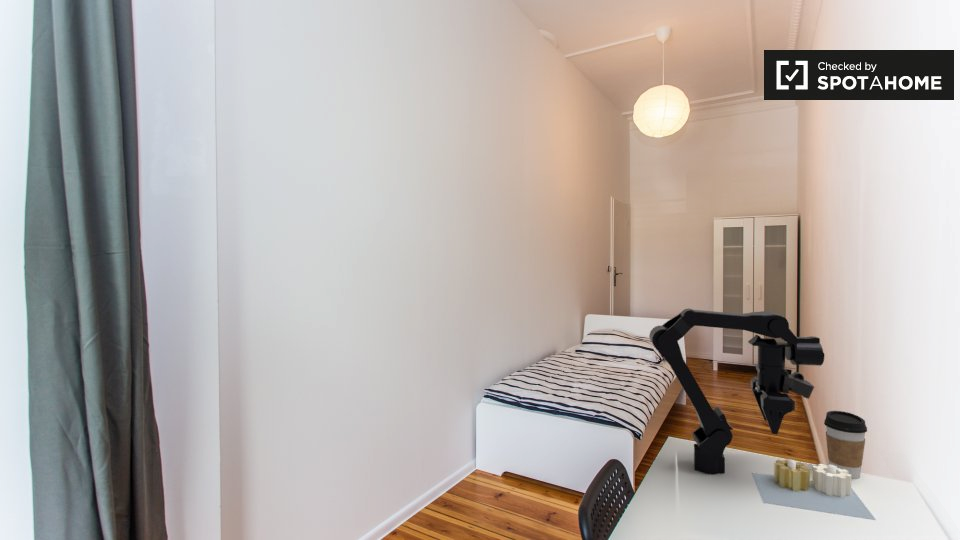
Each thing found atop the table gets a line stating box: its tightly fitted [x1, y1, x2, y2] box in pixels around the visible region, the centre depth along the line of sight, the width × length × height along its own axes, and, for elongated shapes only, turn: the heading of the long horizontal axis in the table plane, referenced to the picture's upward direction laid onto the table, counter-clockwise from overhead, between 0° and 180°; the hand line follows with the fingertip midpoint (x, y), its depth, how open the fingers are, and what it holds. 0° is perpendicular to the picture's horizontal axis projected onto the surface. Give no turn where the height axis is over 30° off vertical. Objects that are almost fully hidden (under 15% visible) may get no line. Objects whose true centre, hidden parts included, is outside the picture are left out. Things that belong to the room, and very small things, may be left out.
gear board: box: [751, 459, 876, 521], centre depth 108 cm, size 20×15×6 cm
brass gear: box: [773, 458, 811, 491], centre depth 112 cm, size 7×7×4 cm
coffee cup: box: [823, 410, 868, 480], centre depth 117 cm, size 8×8×15 cm
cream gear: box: [812, 463, 852, 498], centre depth 109 cm, size 7×7×4 cm
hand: (770, 427), depth 117 cm, fingers open, 9 cm apart
